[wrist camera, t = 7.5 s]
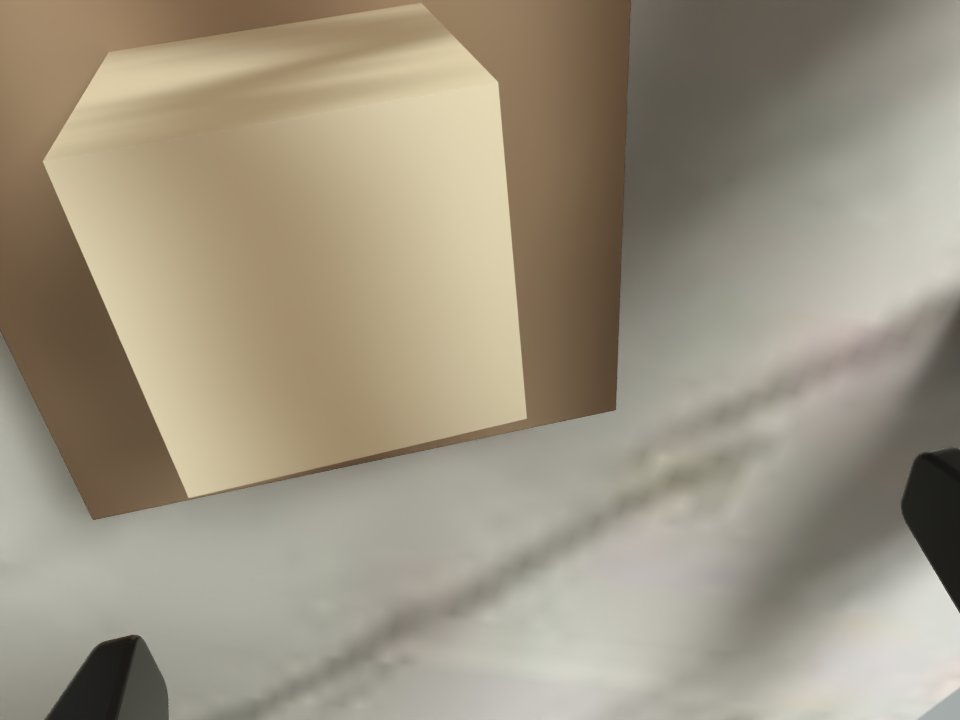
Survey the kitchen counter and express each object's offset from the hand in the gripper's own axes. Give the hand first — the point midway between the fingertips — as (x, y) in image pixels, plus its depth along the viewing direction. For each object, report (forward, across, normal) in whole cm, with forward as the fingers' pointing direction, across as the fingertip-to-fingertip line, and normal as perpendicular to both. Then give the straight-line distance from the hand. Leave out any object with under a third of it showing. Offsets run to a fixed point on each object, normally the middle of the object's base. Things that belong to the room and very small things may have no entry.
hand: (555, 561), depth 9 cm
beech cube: (+8, +2, -2) cm, 9 cm away
